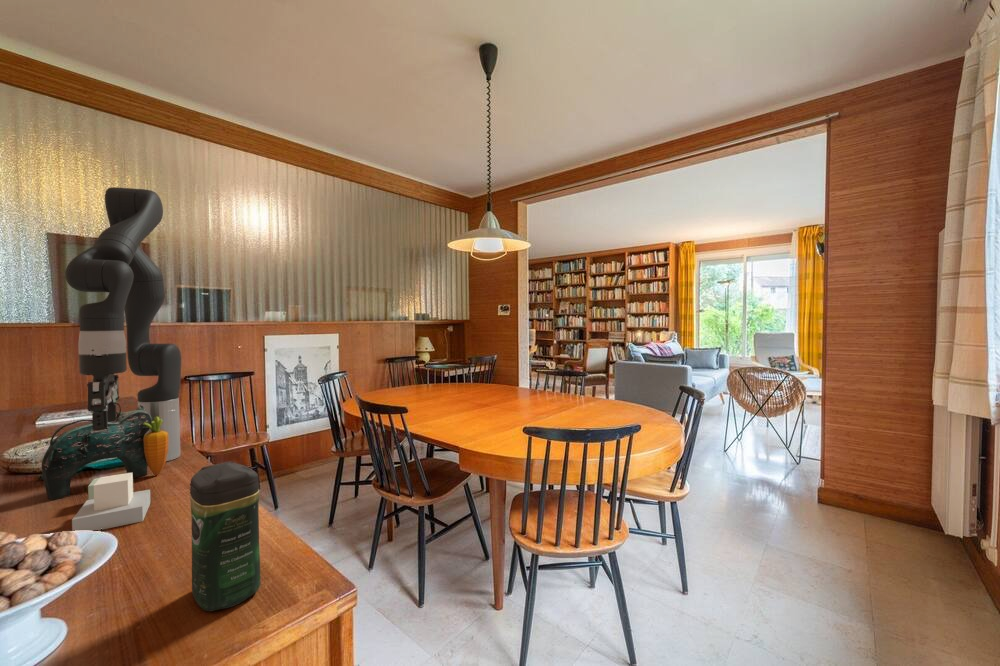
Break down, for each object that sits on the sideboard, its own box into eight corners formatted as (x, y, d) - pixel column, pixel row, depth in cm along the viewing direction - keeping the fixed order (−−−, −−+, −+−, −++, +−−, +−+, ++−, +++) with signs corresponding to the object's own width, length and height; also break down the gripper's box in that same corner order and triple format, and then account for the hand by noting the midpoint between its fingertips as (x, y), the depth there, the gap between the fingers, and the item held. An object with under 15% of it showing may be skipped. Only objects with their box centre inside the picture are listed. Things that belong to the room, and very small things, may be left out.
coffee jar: (268, 593, 61) (266, 467, 61) (204, 622, 55) (201, 483, 55) (246, 567, 68) (243, 453, 67) (186, 591, 62) (183, 466, 61)
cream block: (100, 501, 85) (100, 477, 85) (133, 495, 88) (132, 472, 88) (94, 510, 81) (93, 485, 81) (128, 504, 84) (127, 480, 84)
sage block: (95, 500, 93) (94, 478, 93) (124, 495, 96) (124, 474, 95) (88, 509, 89) (88, 486, 88) (120, 503, 91) (119, 481, 91)
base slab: (87, 514, 86) (87, 500, 86) (150, 502, 91) (150, 489, 91) (72, 535, 78) (72, 519, 78) (142, 521, 83) (142, 506, 83)
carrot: (158, 479, 105) (157, 420, 105) (139, 479, 105) (137, 419, 105) (174, 472, 110) (172, 415, 110) (155, 471, 110) (154, 415, 110)
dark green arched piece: (147, 470, 112) (145, 395, 111) (159, 474, 109) (156, 397, 108) (39, 498, 94) (36, 409, 94) (50, 504, 91) (47, 412, 90)
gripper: (88, 350, 95) (90, 421, 95) (68, 354, 83) (71, 435, 84) (131, 349, 99) (133, 417, 100) (119, 353, 87) (121, 430, 88)
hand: (105, 425), depth 92 cm, fingers open, 8 cm apart
